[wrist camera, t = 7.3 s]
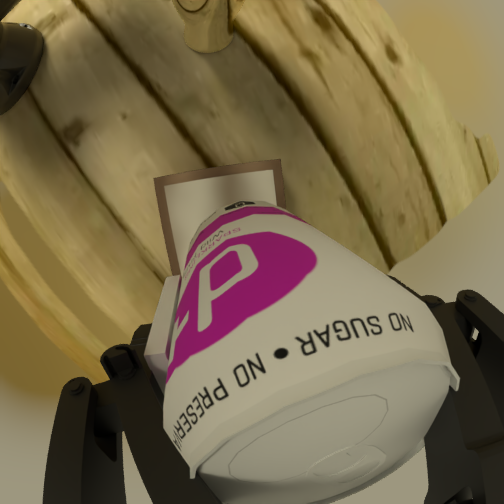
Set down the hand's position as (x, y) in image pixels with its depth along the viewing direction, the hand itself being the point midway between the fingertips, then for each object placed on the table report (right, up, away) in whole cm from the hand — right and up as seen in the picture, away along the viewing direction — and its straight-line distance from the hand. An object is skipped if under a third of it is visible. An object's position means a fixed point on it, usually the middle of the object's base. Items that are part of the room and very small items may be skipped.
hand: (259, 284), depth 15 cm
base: (-4, +5, +17) cm, 18 cm away
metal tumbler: (-6, +28, +10) cm, 30 cm away
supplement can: (-1, +1, +4) cm, 4 cm away
